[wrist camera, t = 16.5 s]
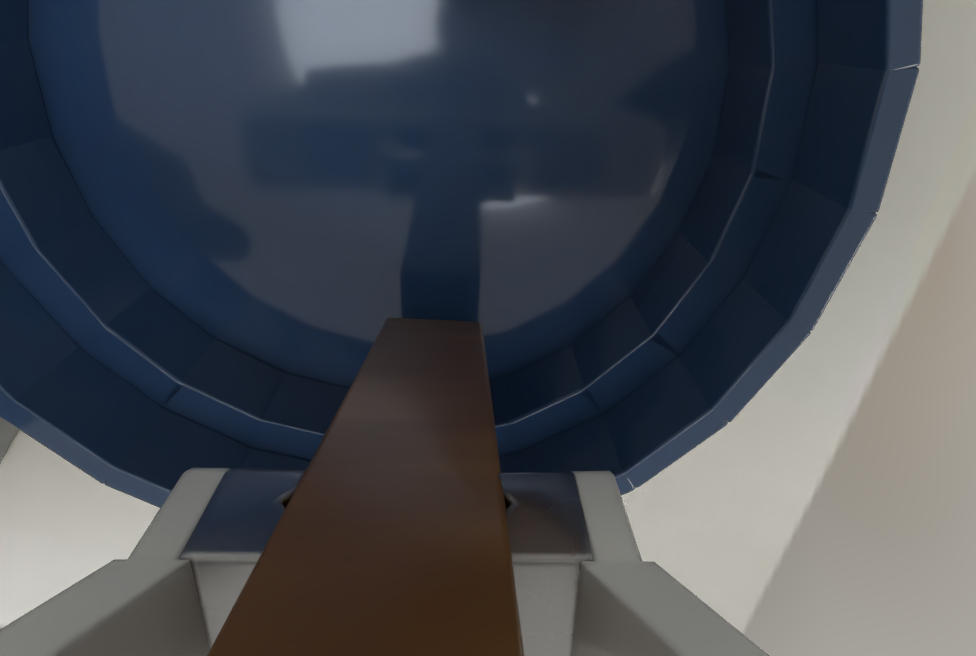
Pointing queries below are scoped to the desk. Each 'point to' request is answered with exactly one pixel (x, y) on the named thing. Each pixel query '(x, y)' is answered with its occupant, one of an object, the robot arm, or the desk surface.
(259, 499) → the robot arm
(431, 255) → the bowl
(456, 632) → the stick
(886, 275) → the desk surface
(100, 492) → the desk surface
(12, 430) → the coffeepot
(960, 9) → the desk surface
